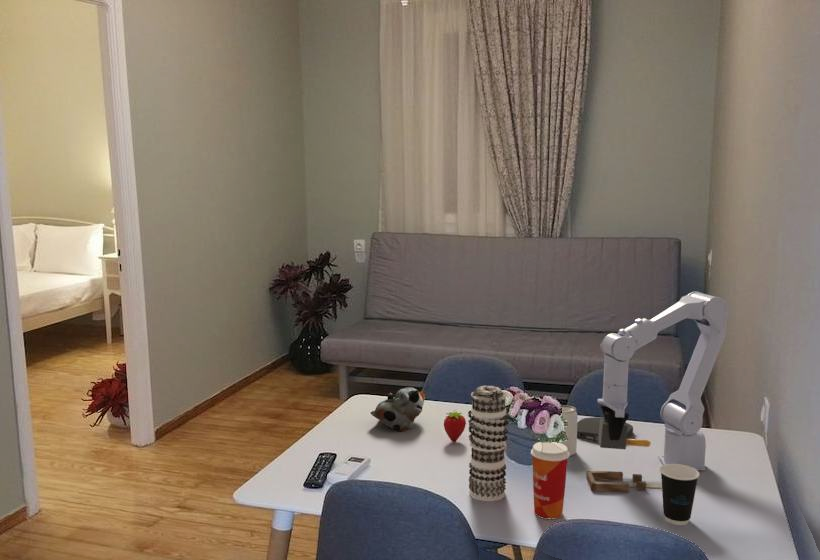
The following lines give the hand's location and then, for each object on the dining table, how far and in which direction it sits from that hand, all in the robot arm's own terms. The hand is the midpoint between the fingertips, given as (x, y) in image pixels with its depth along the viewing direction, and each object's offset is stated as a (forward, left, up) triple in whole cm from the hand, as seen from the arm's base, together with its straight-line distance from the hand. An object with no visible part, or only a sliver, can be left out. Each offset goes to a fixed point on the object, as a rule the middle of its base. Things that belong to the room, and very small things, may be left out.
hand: (612, 436), depth 181 cm
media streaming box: (-3, -27, -10) cm, 28 cm away
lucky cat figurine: (+56, -30, -9) cm, 64 cm away
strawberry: (+39, -17, -9) cm, 44 cm away
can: (+10, -12, -9) cm, 18 cm away
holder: (-1, +8, -9) cm, 12 cm away
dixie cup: (-9, +25, -9) cm, 28 cm away
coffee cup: (+18, +24, -9) cm, 32 cm away
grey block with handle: (-3, 0, -3) cm, 4 cm away
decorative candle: (+31, +15, -9) cm, 36 cm away
